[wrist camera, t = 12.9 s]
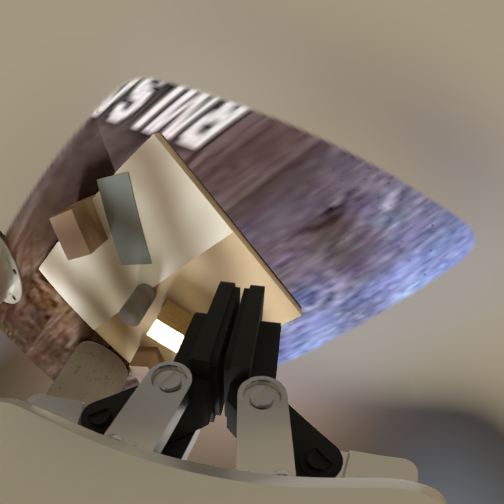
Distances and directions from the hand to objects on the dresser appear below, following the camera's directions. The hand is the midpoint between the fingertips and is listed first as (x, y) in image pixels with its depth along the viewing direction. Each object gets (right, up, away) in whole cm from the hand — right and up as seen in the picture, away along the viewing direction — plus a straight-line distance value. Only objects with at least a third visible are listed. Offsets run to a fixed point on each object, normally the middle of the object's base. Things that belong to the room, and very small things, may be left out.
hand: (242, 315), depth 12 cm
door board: (-9, -1, +16) cm, 19 cm away
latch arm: (-4, -5, +16) cm, 17 cm away
